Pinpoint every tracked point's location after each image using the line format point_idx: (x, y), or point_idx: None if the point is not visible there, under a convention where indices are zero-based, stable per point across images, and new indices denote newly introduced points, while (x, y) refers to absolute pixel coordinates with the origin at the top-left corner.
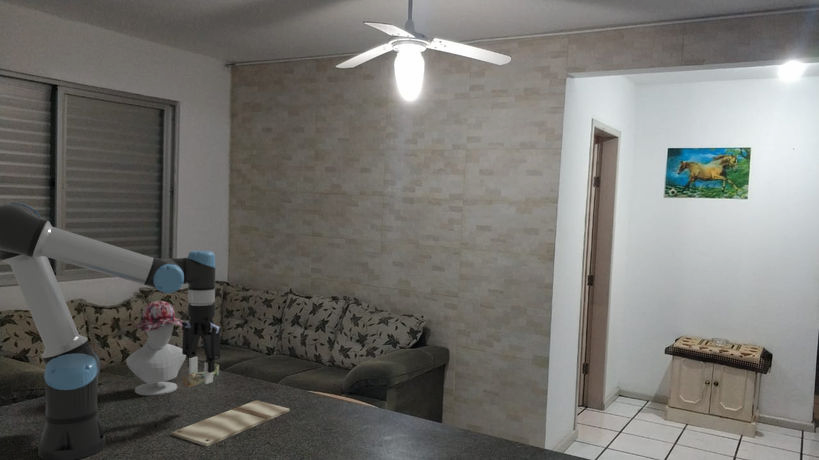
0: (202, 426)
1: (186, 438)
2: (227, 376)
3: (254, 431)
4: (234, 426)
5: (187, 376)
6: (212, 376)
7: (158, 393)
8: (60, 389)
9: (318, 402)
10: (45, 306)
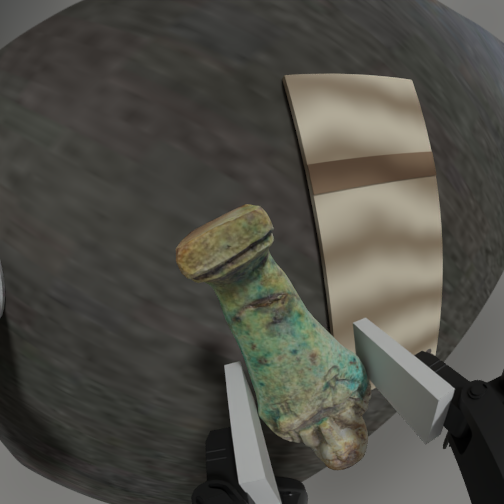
0: None
1: None
2: (3, 60)
3: (451, 239)
4: (424, 271)
5: (356, 462)
6: (383, 335)
7: (2, 295)
8: None
9: (385, 6)
10: None
